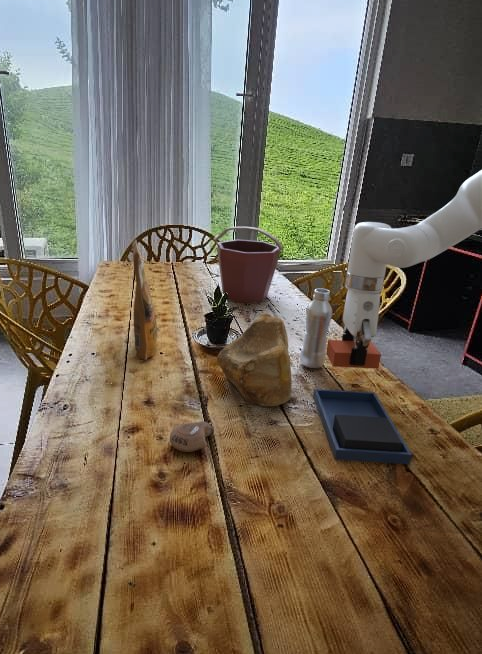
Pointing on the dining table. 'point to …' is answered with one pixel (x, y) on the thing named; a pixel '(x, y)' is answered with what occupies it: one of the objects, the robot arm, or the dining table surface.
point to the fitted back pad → (366, 433)
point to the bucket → (247, 266)
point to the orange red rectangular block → (342, 352)
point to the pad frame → (356, 406)
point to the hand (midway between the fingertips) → (352, 356)
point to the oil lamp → (190, 436)
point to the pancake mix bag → (143, 311)
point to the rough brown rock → (260, 362)
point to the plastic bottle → (316, 330)
